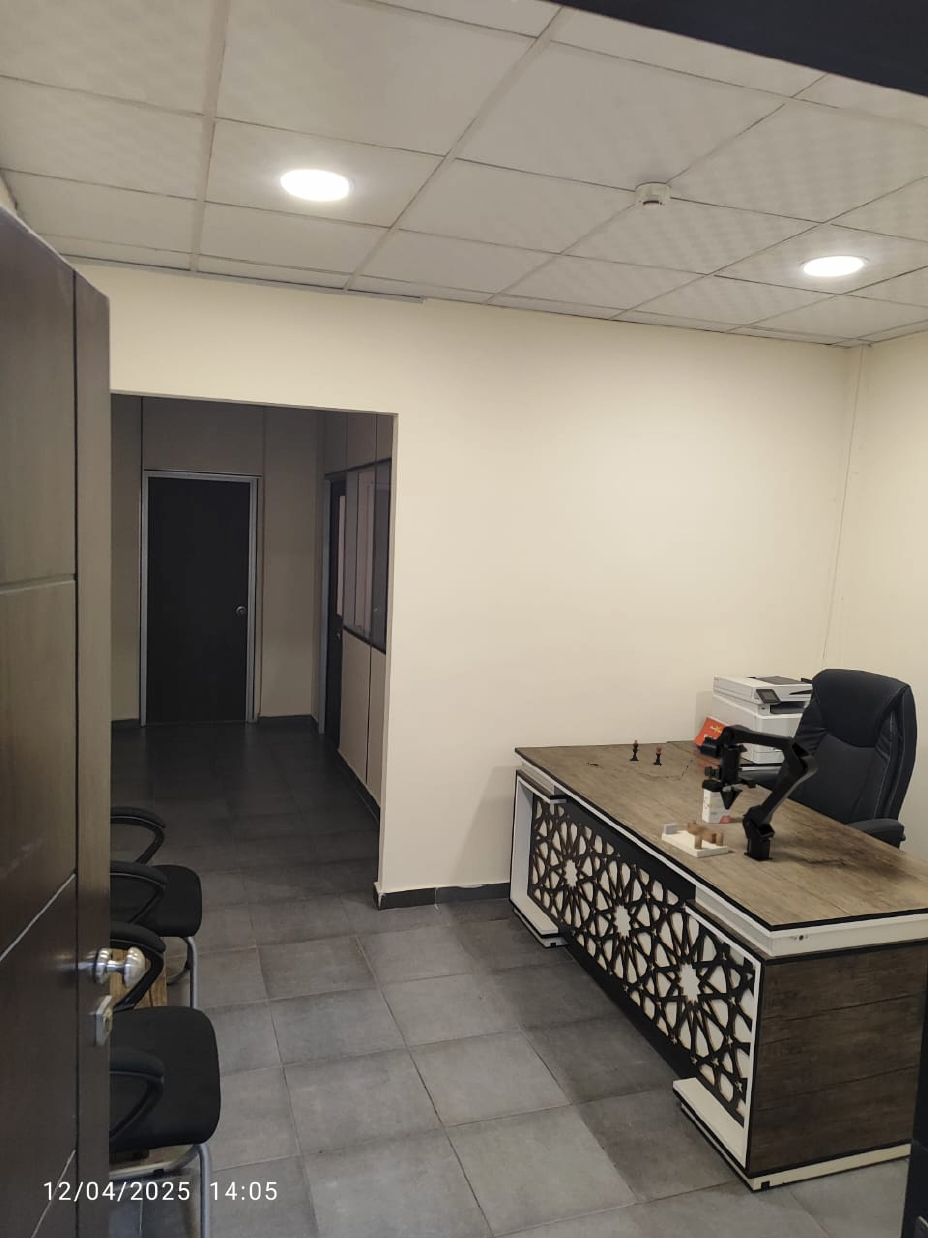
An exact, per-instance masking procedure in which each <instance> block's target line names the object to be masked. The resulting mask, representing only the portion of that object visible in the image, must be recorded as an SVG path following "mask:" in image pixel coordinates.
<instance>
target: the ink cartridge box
mask: <svg viewBox="0 0 928 1238" xmlns="http://www.w3.org/2000/svg"><path fill="white" fill-rule="evenodd" d="M702 801H703V802H702V816H701V819H702V821H704V822H706V823H707V824H730V822H731V809H732V806H731V807H730V809H729V810H726V809H725V807H724V804H723V800H722V797H721V794H720V792H717V793H714V792H710V791H708V790H706V789H703V800H702Z"/></svg>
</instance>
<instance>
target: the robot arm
mask: <svg viewBox="0 0 928 1238" xmlns="http://www.w3.org/2000/svg"><path fill="white" fill-rule="evenodd" d="M744 744H751V745H756V746H762V747H767V748H773V749H779V750H780V752H782V755H783V758H784V761H785V762H786V763H787V764H788V767H787V768H786V773H785V776H784V777H783V779H782V780H781V781H780V782H779V783H778V784H777V785H776V787H775V788H774V789H773V790H772V791H771V792H770V794H769V795H768V796H767V797H766V798H765V800H764V801H763V802H762V803H761V804H756V805H752V806H750V807H749V808H748V809H747V811H746V812H745V813H744V814H742V819H741V823H742V828H743V830H744V834H745V838H746V839H747V843H746V847H747V848H746V851H744V852H743V855H744V856H747V857H749V858H751V859H754V860H755V861H758V862H761V861H766V860H767V861H768V860H772V859H773V858H774V857H773V856H771V855H770V852H771V843H772V842H771V840H770V839H772V838H774V837H775V834H776V831H775V829H774V828H773V827H772V825H771V822H772V820H773V816H774V815H773V814H774V813H775V812H776V811H777V810H778V808H780V807H781V805H782V804H783V803H784V802H785V800H786V799H787V798H788V797H789V796H790V794H791V793H793V791H794V790H795V789H796V788H797V787H798V786H799V785H800V784H801V783H802V782H804V781H805V780H807V779H809V778H810V777H812V776H813V775H814V774H815V773H816V772H817V771H819V763H818V761H817V759H816V758H815V757H814V756H812V755H811V754H810V753H809V751H808V750H806V748H805V747H803V746H802V745H801V744H800V743H798V741H797V740H796V739H795V738H794V737H792V736H791V735H789V736H788V735H787V736H785V735H779V734H774V733H773V734H772V733H768V732H761V731H757V730H752V729H750V728H749V727H748V726H744V725H742V724H733V725H727V726H724V727H723V728H722V730H721V733H720V734H719V735H718V737H717V738H715V737H712V736H711V735H707V736H705V737H704V739H703V741H702V742H701V745H700V747H699V753H700V755H701V756H703V757H706V758H710V759H713V760H718V761H719V760H721V763H720V764H718V765H717V766H718V767H717V768H713V766H704V770H703V771H704V772H703V774H704V776H705V777H708V778H707V779H704V780H703V781H702V782H701V789H703V790H704V789H706V790H708V791H710V792H714V793H717V792H720V794H721V797H722V800H723V804H724V807H725V809H726V810H729V809H730V807H731V808H732V806H733V804H734V803H735V802H736V799H737V798H738V797H739V796H740V794H741V793H743V791H744V790H743V789H741V786H742V787H743V786H747V789H748V790H749V789H750V790H751V789H756V788H757V782H756V779H755V778H751V777H749V776H746V775H740V772H743V767H741V757H742V753H747V752H748V751H749V750H748V749H747V748H746V747H745V745H744Z"/></svg>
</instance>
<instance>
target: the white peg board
mask: <svg viewBox="0 0 928 1238" xmlns="http://www.w3.org/2000/svg"><path fill="white" fill-rule="evenodd" d="M677 829H678V824H677V823H674V822H673V823H668V824H667V823H664V824H663V833H661V840H662V841H664V842H666V843H668V844H670V845H672V846H674V847H675V848H678V849H679V850H680V851H684V852H685V853H687V854H689V855H691V856H693V857H695V858H701V857H702V858H703V857H709V856H715V855H717V856H718V855H721V854H722V855H723V854H727V853H729V846H728V845H726V844H724V836H725V833H724V832H721V831H717V832H716V833H717V836H716V843H710V842H708V841H705V840H703V839H702V836H700V835H693V834H691V833H689V832H687V829H686V830H677Z"/></svg>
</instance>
